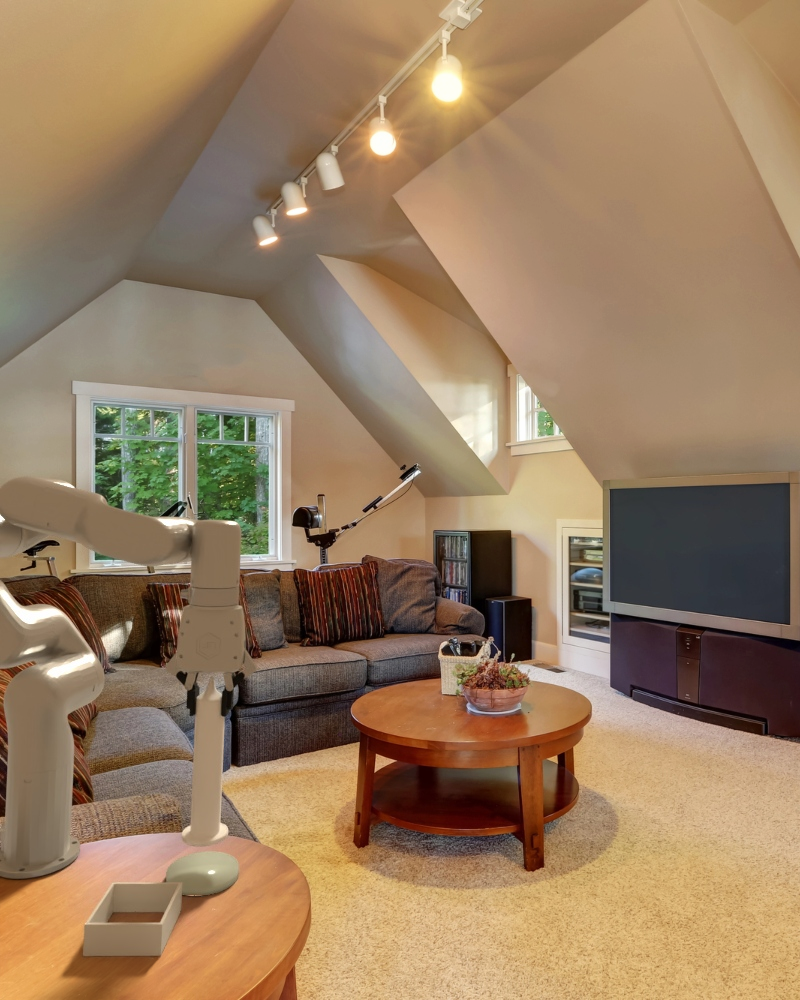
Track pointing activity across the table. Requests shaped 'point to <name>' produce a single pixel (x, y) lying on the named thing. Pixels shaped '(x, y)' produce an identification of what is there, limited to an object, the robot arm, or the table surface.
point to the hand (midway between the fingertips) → (209, 712)
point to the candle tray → (133, 935)
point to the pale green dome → (204, 872)
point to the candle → (207, 771)
